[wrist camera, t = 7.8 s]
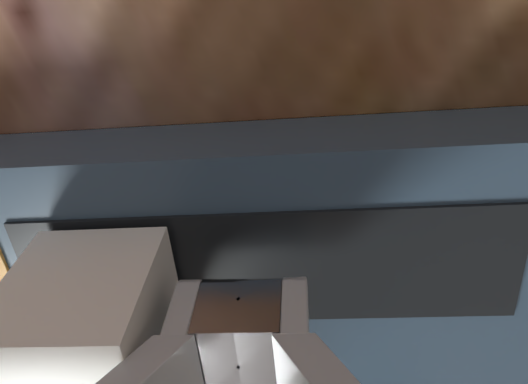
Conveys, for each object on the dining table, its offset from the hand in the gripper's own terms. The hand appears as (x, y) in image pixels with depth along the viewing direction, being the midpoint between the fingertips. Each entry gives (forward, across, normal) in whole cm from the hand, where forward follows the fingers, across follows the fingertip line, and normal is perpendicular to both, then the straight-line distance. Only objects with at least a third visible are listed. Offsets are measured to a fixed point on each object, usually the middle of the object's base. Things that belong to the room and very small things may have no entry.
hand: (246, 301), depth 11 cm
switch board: (+3, 0, +6) cm, 7 cm away
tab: (+1, +3, 0) cm, 3 cm away
